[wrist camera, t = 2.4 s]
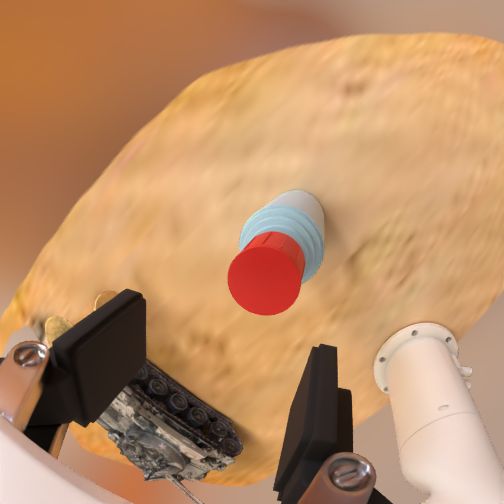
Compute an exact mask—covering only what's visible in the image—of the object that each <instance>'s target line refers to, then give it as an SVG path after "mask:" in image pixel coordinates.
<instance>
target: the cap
mask: <svg viewBox="0 0 504 504" xmlns="http://www.w3.org/2000/svg"><path fill="white" fill-rule="evenodd" d="M305 264H306V262H305V257H304V253H303V251H302V249H301V246H300V245H299V244H298V243H297V242H296V241H295V240H294V239H293V238H292V237H290V236H289V235H286V234H284V233H281V232H273V231H270V232H265V233H262V234H260V235H258V236H255V237H254V238H253V239H252V240H251V241H250V242H249V243H248V244H247V245H246V246H245V248H244V249H243V250H242V251H241V252H240V253H239V254H238V255H237V256H236V257H235V259H234V260H233V261H232V263H231V265H230V268H229V271H228V286H229V289H230V292H231V294H232V296H233V298H234V299H235V300H236V302H237V303H238V304H239V305H240V306H242V307H243V308H244V309H246V310H247V311H249V312H252V313H254V314H258V315H275V314H279V313H281V312H283V311H285V310H287V309H288V308H289V307H290V306H291V305H292V304H293V303H294V302H295V300H296V299H297V297H298V294H299V291H300V287H301V282H302V279H303V274H304V269H305Z"/></svg>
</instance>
